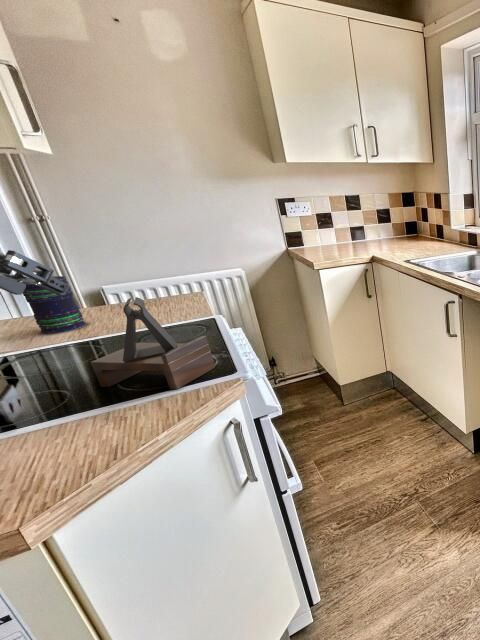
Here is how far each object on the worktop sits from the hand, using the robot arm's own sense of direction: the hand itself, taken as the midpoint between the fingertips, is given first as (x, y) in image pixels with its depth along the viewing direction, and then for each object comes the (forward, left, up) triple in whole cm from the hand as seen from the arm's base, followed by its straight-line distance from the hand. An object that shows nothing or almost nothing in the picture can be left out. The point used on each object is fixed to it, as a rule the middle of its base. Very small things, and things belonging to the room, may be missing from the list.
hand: (43, 290), depth 74 cm
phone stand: (+1, +13, -18) cm, 22 cm away
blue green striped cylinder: (-59, +43, -24) cm, 77 cm away
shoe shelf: (+1, +14, -24) cm, 27 cm away
